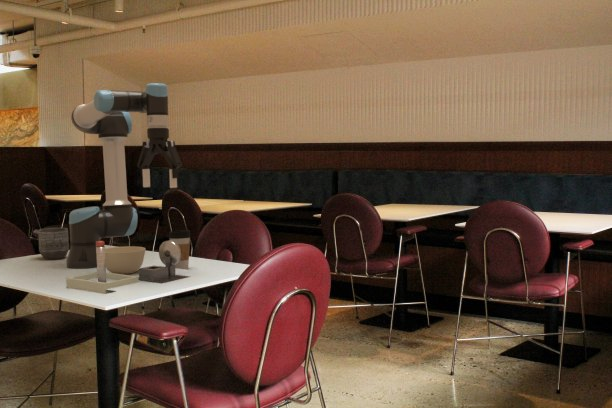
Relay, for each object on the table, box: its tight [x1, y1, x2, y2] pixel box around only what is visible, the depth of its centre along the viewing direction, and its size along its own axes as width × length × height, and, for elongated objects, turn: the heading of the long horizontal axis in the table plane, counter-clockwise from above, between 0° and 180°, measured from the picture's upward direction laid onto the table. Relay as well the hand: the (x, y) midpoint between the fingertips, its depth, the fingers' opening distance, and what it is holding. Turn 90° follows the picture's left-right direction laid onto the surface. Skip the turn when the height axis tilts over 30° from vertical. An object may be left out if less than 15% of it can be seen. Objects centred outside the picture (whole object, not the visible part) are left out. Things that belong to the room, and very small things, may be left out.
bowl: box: [105, 245, 146, 275], centre depth 250 cm, size 16×16×10 cm
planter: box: [37, 227, 70, 261], centre depth 296 cm, size 12×12×13 cm
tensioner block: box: [137, 239, 190, 285], centre depth 238 cm, size 16×14×14 cm
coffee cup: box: [168, 229, 192, 270], centre depth 264 cm, size 8×8×15 cm
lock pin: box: [96, 240, 107, 283], centre depth 231 cm, size 3×3×15 cm
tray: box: [65, 271, 139, 295], centre depth 231 cm, size 20×14×3 cm
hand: (159, 187), depth 243 cm, fingers open, 13 cm apart
